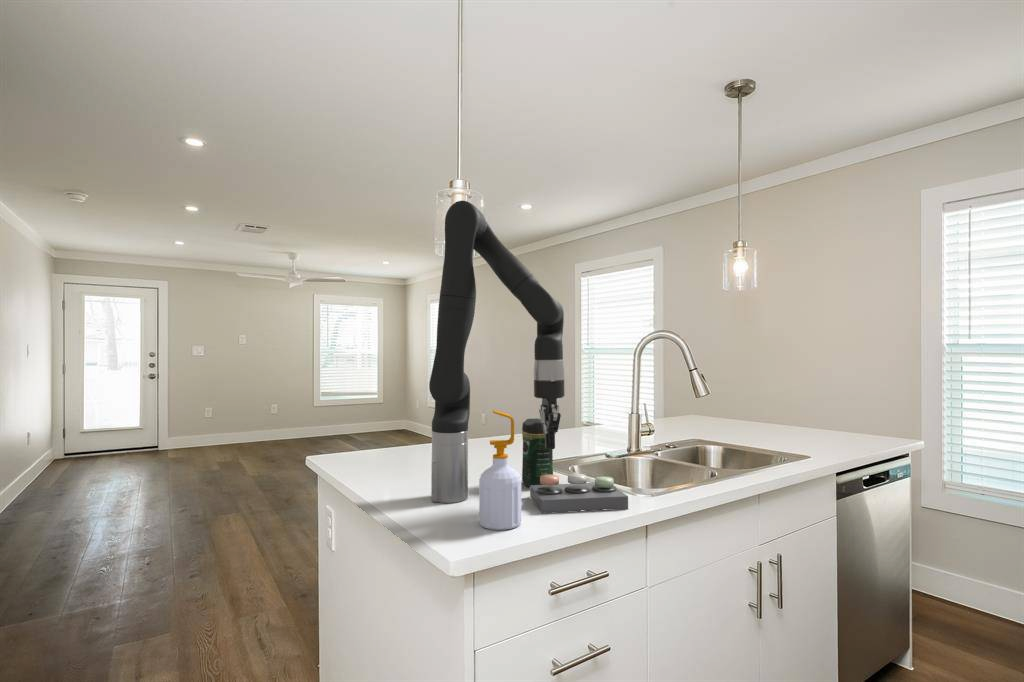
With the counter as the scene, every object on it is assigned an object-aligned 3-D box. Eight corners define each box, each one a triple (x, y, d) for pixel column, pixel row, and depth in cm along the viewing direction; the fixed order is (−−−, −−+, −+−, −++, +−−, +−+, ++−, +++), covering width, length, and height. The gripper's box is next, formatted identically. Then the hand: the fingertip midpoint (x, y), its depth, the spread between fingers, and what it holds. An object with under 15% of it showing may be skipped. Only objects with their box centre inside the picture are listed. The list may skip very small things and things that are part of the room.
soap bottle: (478, 518, 118) (479, 408, 119) (519, 517, 119) (519, 408, 120) (479, 531, 109) (480, 412, 110) (523, 530, 110) (523, 412, 111)
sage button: (598, 487, 129) (598, 481, 129) (592, 483, 133) (592, 476, 133) (616, 487, 130) (616, 480, 130) (609, 482, 134) (609, 476, 134)
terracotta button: (542, 485, 127) (542, 479, 127) (538, 481, 131) (538, 474, 131) (561, 485, 127) (560, 478, 127) (556, 480, 132) (556, 474, 132)
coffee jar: (557, 488, 145) (557, 420, 145) (530, 490, 142) (530, 421, 143) (544, 480, 154) (544, 416, 154) (518, 482, 151) (518, 417, 152)
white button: (570, 484, 128) (570, 478, 128) (565, 480, 132) (565, 473, 132) (588, 483, 128) (588, 477, 128) (583, 479, 133) (583, 473, 133)
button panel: (541, 513, 122) (541, 498, 122) (530, 497, 135) (530, 483, 136) (628, 509, 125) (628, 494, 125) (608, 493, 139) (608, 480, 139)
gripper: (528, 377, 136) (529, 444, 135) (539, 379, 123) (540, 454, 122) (557, 376, 137) (558, 443, 137) (570, 379, 124) (572, 453, 124)
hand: (550, 448), depth 129 cm, fingers closed
